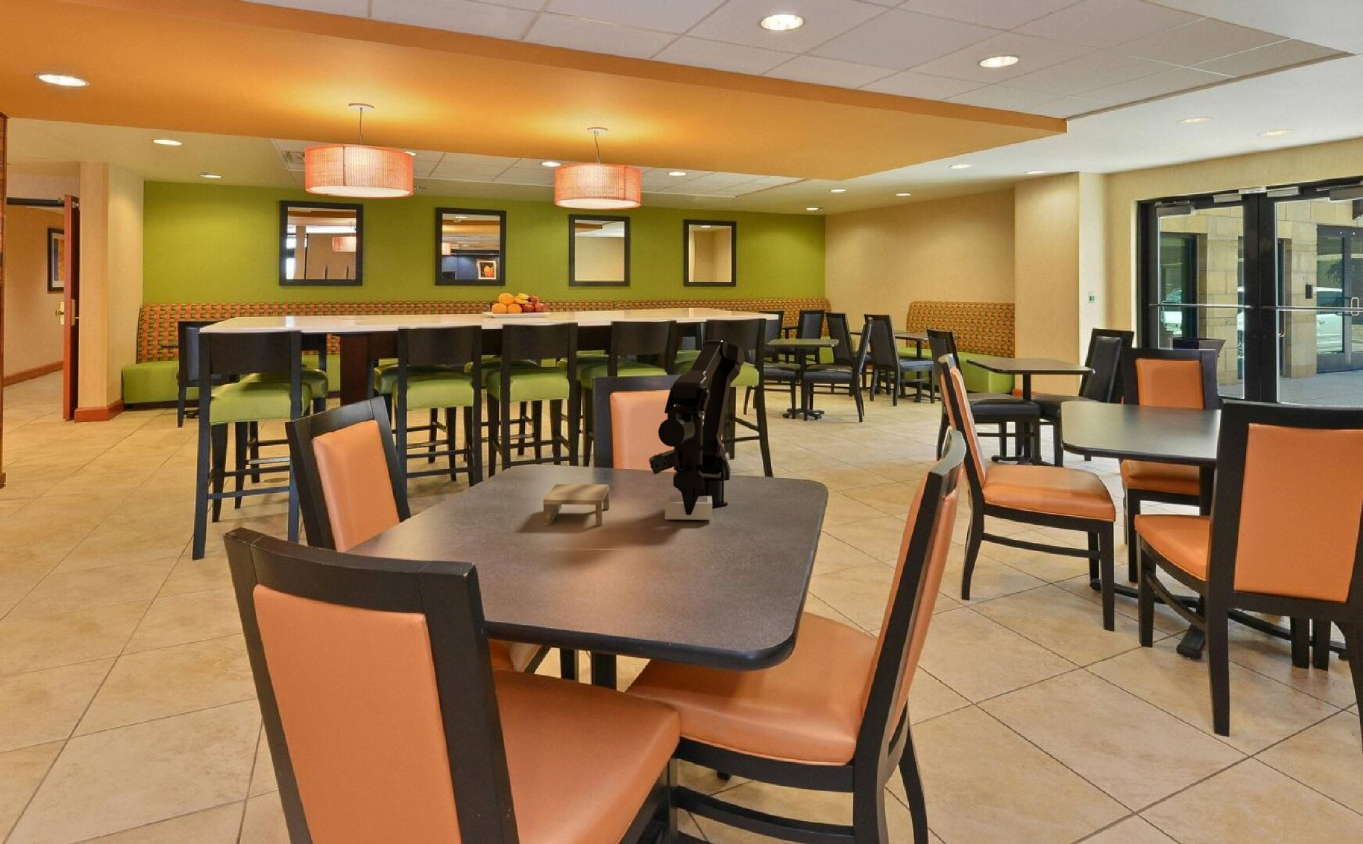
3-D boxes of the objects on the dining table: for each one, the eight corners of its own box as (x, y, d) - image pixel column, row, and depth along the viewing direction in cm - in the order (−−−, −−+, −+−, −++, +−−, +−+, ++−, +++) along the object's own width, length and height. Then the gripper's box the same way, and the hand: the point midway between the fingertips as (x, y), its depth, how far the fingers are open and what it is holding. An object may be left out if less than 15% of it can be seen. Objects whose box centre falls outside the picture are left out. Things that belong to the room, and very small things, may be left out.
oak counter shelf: (609, 508, 175) (609, 484, 174) (601, 526, 160) (601, 500, 159) (556, 507, 175) (555, 484, 174) (543, 525, 160) (543, 499, 160)
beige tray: (711, 511, 170) (711, 496, 170) (712, 519, 164) (712, 503, 163) (666, 511, 170) (666, 495, 170) (664, 519, 164) (664, 503, 163)
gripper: (653, 432, 174) (653, 499, 176) (648, 446, 155) (648, 522, 158) (703, 432, 174) (702, 500, 176) (704, 447, 155) (703, 522, 158)
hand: (688, 510), depth 167 cm, fingers closed on beige tray, 6 cm apart
